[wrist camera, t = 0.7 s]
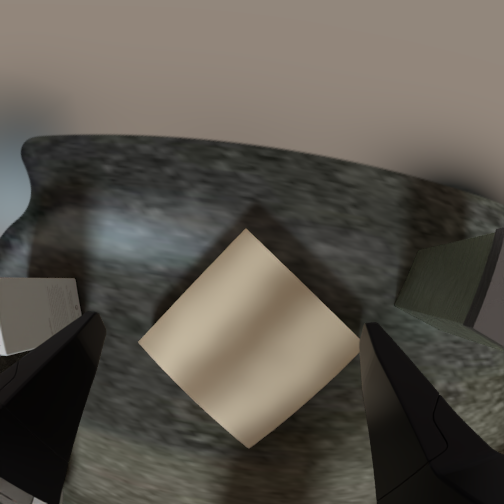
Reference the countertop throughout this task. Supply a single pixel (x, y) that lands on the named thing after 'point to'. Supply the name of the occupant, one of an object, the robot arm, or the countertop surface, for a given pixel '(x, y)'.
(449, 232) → the countertop surface
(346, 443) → the countertop surface
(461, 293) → the tea tin
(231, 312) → the wooden block
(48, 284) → the small box
